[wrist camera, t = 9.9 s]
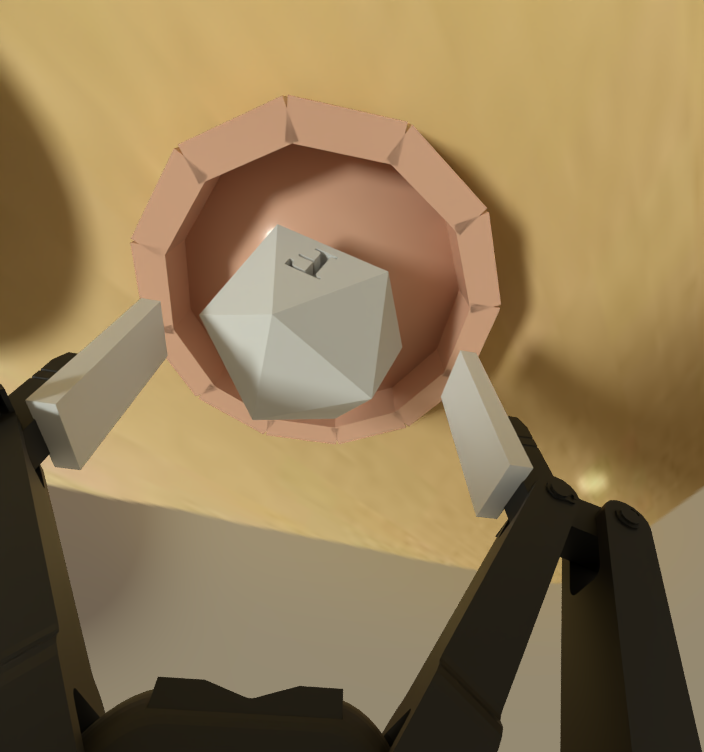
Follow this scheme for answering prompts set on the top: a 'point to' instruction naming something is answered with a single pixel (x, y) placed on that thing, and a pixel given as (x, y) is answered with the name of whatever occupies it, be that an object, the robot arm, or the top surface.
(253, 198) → the tray
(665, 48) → the top surface
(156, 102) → the top surface
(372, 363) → the die
